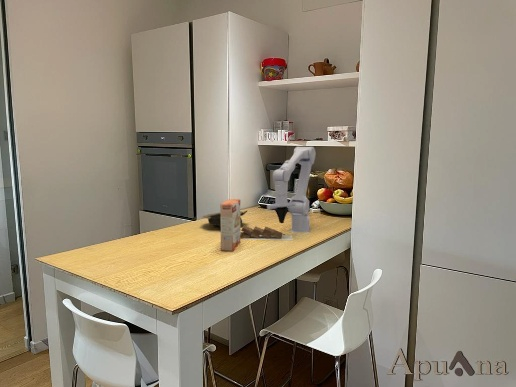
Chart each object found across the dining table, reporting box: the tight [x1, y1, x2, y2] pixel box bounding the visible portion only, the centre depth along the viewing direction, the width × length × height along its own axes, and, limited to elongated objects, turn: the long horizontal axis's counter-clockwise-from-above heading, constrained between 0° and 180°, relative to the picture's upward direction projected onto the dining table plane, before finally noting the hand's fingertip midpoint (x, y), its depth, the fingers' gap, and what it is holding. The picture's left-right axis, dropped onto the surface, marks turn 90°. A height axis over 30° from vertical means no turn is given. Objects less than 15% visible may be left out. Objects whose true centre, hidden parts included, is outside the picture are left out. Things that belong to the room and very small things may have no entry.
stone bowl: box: [202, 210, 248, 227], centre depth 216 cm, size 25×25×9 cm
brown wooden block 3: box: [253, 225, 272, 239], centre depth 190 cm, size 2×5×9 cm
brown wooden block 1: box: [240, 231, 251, 239], centre depth 191 cm, size 2×5×9 cm
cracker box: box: [219, 198, 242, 252], centre depth 175 cm, size 14×6×21 cm, turn 168°
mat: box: [243, 234, 293, 241], centre depth 190 cm, size 23×9×1 cm, turn 84°
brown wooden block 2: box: [240, 224, 260, 238], centre depth 190 cm, size 2×5×9 cm
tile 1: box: [263, 225, 283, 239], centre depth 189 cm, size 2×5×9 cm
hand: (281, 222), depth 188 cm, fingers closed
